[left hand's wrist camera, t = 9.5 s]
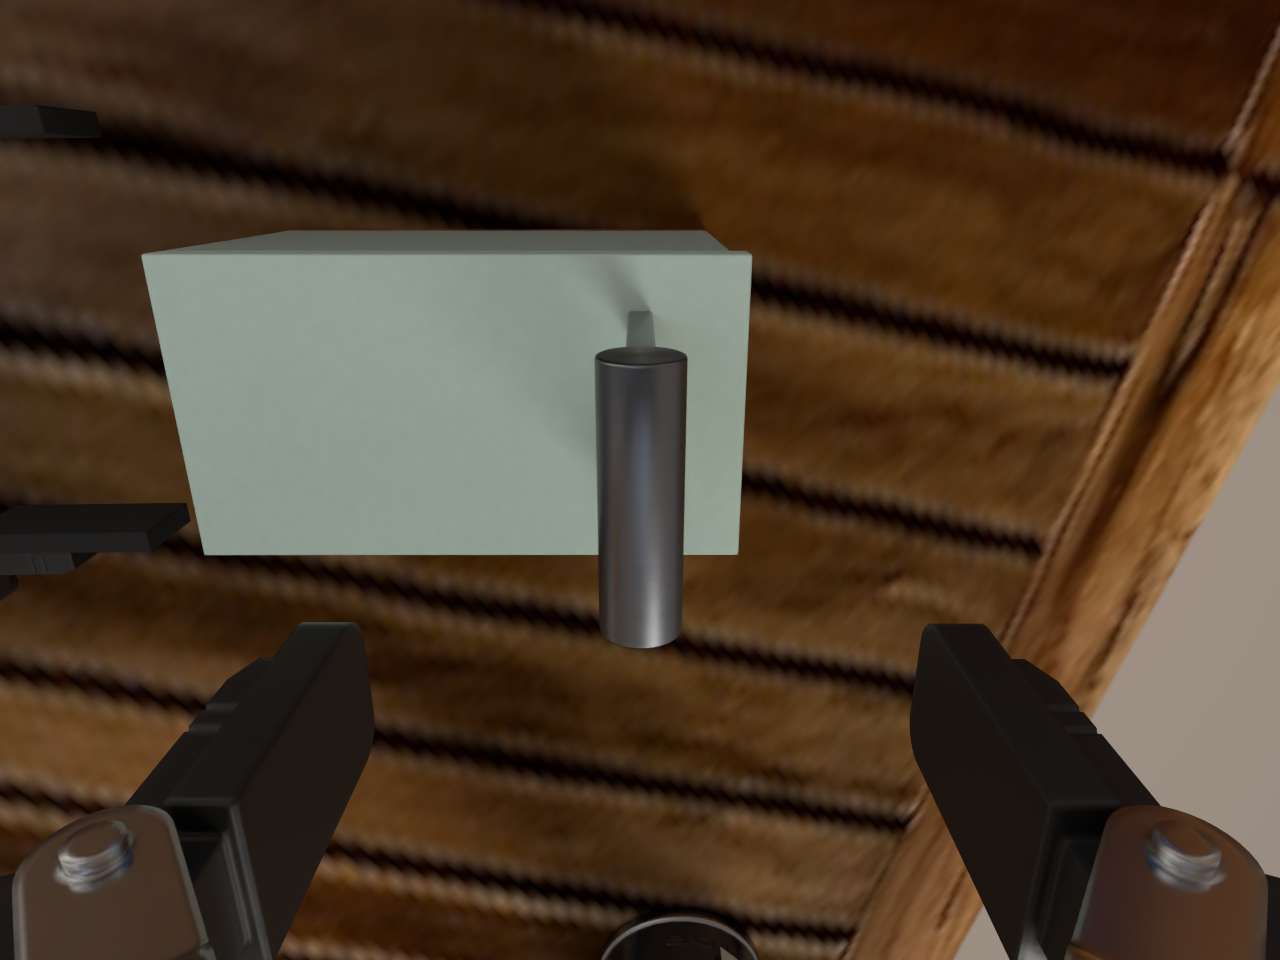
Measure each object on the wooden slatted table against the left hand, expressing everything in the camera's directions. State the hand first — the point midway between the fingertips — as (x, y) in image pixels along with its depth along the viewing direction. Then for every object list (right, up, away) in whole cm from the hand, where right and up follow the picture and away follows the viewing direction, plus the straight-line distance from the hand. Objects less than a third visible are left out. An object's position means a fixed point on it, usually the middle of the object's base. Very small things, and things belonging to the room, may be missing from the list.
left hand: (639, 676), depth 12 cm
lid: (-5, +5, +14) cm, 16 cm away
